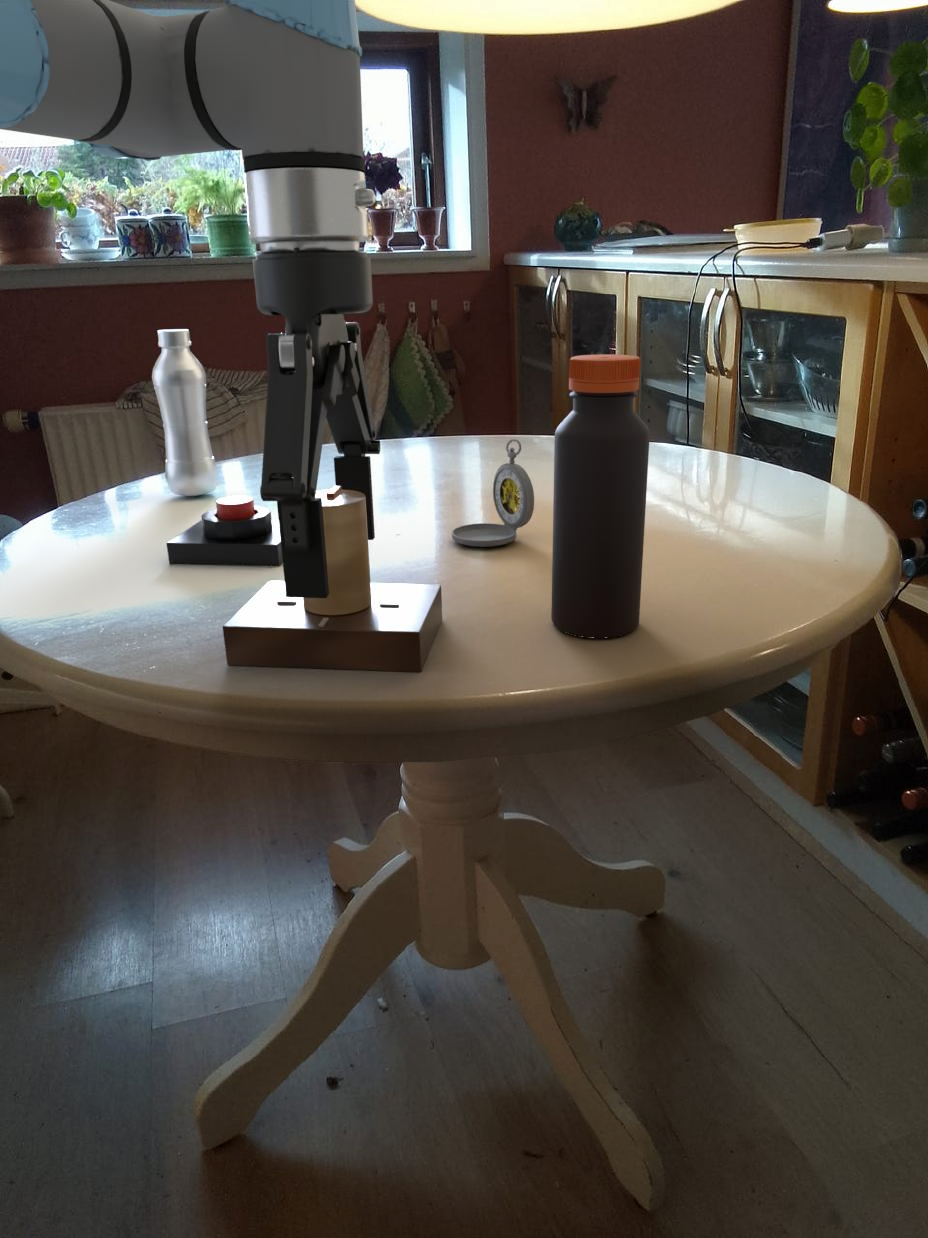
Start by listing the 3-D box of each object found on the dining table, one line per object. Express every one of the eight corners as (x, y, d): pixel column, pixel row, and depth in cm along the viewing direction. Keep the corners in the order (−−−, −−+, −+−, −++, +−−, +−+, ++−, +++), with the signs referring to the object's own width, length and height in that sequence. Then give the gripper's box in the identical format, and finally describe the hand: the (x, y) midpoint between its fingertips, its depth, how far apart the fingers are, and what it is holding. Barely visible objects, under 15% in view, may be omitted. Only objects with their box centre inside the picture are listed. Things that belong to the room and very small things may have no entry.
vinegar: (541, 634, 67) (545, 361, 60) (562, 605, 73) (568, 352, 66) (630, 645, 65) (646, 362, 58) (645, 613, 71) (661, 353, 64)
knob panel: (226, 665, 63) (221, 624, 62) (272, 615, 73) (268, 578, 71) (421, 672, 62) (419, 630, 60) (442, 620, 71) (441, 582, 70)
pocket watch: (440, 546, 90) (437, 446, 86) (476, 525, 97) (474, 432, 93) (515, 555, 87) (515, 452, 83) (546, 533, 94) (547, 437, 90)
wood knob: (363, 616, 63) (356, 502, 60) (295, 614, 64) (284, 501, 61) (377, 592, 68) (371, 485, 65) (314, 591, 69) (305, 485, 66)
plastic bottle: (168, 503, 109) (144, 332, 102) (167, 491, 115) (144, 329, 108) (222, 498, 111) (202, 330, 104) (218, 487, 117) (199, 327, 110)
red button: (212, 521, 87) (209, 504, 86) (225, 512, 90) (223, 495, 89) (247, 522, 86) (245, 504, 86) (260, 512, 90) (258, 495, 89)
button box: (169, 564, 86) (163, 524, 84) (205, 538, 94) (201, 501, 93) (279, 567, 85) (275, 526, 83) (306, 540, 93) (303, 502, 91)
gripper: (312, 241, 45) (341, 629, 53) (405, 251, 68) (416, 520, 76) (172, 244, 46) (220, 625, 54) (310, 253, 69) (330, 519, 77)
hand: (334, 564), depth 65 cm, fingers open, 13 cm apart
